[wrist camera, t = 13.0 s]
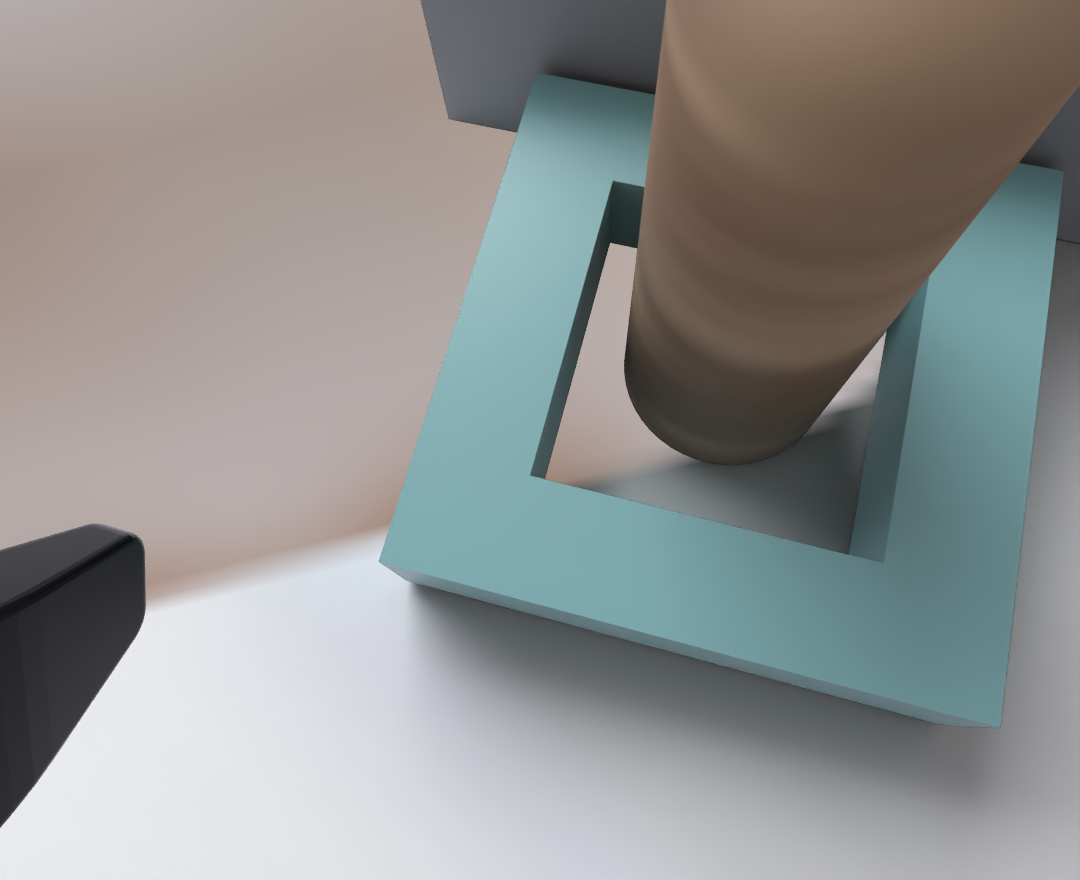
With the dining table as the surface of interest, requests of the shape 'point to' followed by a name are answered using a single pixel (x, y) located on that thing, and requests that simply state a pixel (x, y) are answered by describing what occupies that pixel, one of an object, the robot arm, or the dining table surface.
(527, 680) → the dining table surface
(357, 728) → the dining table surface
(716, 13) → the walnut dowel
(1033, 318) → the socket block
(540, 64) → the charcoal wall
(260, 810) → the dining table surface
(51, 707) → the robot arm
